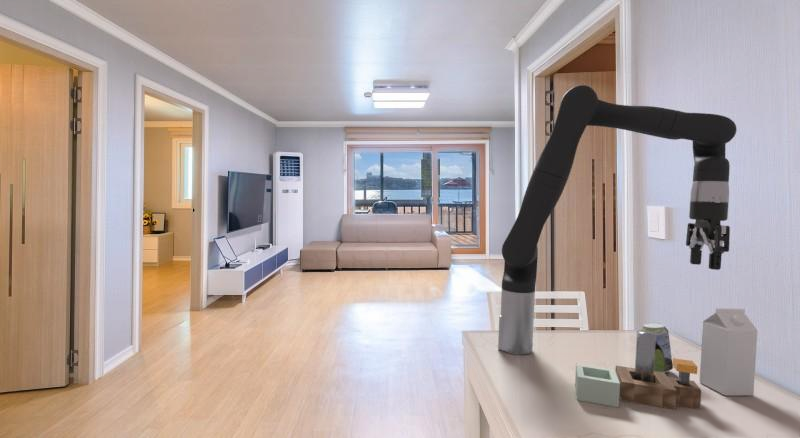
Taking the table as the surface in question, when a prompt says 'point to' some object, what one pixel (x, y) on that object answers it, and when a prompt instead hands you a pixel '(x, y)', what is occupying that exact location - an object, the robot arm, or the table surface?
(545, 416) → the table surface
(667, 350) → the beverage can
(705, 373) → the milk carton
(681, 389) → the socket block
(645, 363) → the peg
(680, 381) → the orange square-headed peg
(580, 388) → the rack
